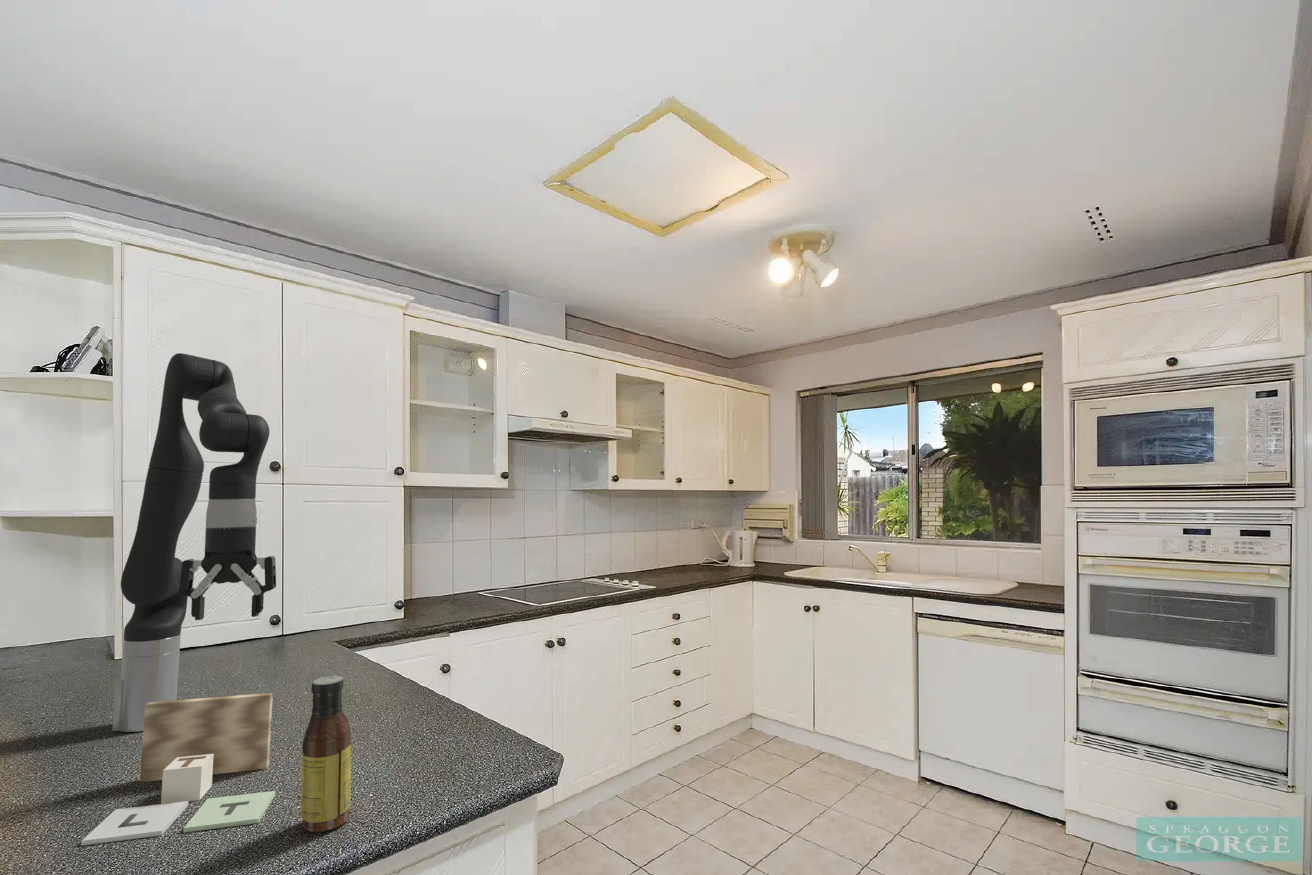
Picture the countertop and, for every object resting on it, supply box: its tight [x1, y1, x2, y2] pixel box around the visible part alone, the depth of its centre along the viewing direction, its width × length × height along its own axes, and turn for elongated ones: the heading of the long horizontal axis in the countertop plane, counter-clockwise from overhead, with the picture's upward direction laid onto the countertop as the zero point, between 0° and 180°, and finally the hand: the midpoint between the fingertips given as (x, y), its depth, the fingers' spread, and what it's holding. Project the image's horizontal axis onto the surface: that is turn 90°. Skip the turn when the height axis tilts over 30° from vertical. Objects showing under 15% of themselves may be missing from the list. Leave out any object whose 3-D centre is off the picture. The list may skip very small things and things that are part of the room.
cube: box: [160, 754, 214, 804], centre depth 100 cm, size 5×5×5 cm
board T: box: [182, 790, 276, 834], centre depth 94 cm, size 9×9×1 cm
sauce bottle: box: [300, 675, 352, 834], centre depth 92 cm, size 7×6×20 cm
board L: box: [80, 801, 189, 846], centre depth 91 cm, size 9×9×1 cm
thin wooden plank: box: [139, 692, 274, 783], centre depth 108 cm, size 18×2×12 cm, turn 107°
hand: (227, 617), depth 114 cm, fingers open, 8 cm apart
